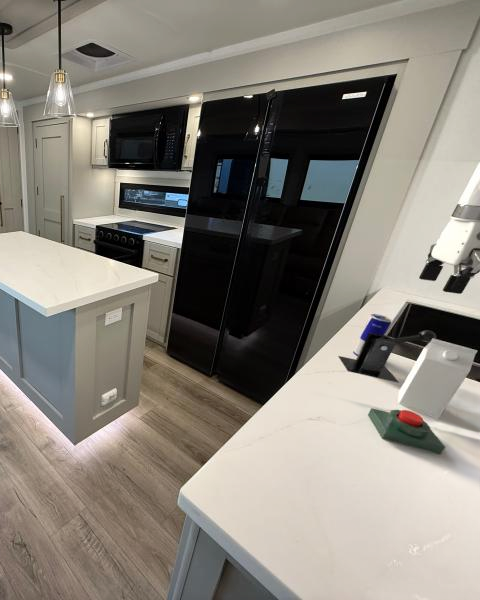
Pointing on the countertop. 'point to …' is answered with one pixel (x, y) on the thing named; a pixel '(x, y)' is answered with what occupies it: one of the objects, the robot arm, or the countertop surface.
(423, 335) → the lever
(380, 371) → the bracket
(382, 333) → the beverage can
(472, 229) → the robot arm
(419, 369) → the milk carton
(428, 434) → the button box
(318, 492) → the countertop surface
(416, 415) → the button
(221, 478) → the countertop surface
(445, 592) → the countertop surface
